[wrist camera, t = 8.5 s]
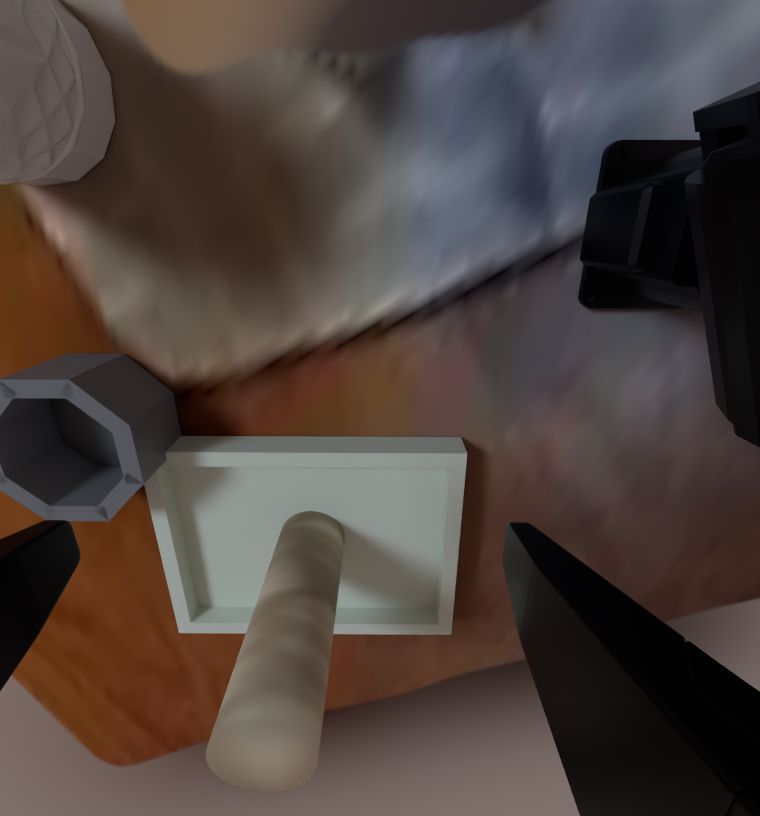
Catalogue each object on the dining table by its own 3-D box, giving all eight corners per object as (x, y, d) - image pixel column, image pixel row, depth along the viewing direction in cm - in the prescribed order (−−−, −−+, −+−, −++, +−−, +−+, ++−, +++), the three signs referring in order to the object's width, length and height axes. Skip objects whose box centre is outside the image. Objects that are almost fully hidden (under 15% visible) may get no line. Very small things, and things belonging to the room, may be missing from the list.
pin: (343, 511, 23) (314, 724, 13) (345, 563, 25) (320, 793, 15) (278, 510, 23) (197, 723, 13) (283, 563, 25) (214, 792, 15)
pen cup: (165, 353, 21) (118, 380, 17) (189, 475, 23) (152, 521, 20) (25, 353, 21) (-52, 379, 17) (64, 475, 23) (4, 520, 20)
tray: (461, 437, 22) (467, 453, 21) (446, 609, 27) (451, 634, 25) (154, 435, 22) (136, 452, 21) (191, 608, 27) (179, 633, 25)
